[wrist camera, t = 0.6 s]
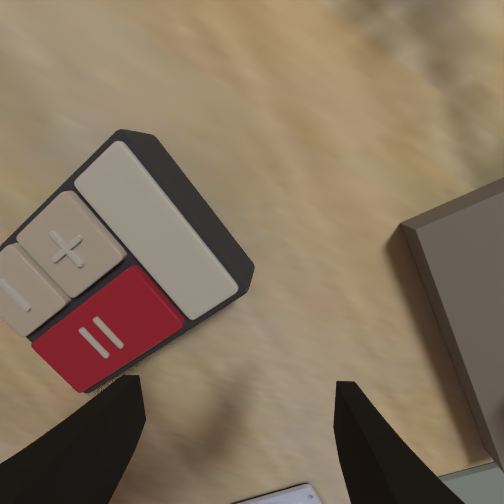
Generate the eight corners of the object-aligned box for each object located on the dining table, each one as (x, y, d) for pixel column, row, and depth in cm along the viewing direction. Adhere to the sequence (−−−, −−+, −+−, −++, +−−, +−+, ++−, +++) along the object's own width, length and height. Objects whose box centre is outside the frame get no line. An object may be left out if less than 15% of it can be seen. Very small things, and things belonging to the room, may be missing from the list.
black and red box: (-49, 284, 18) (112, 122, 14) (14, 260, 22) (152, 130, 18) (77, 405, 20) (250, 296, 16) (113, 363, 24) (257, 268, 20)
